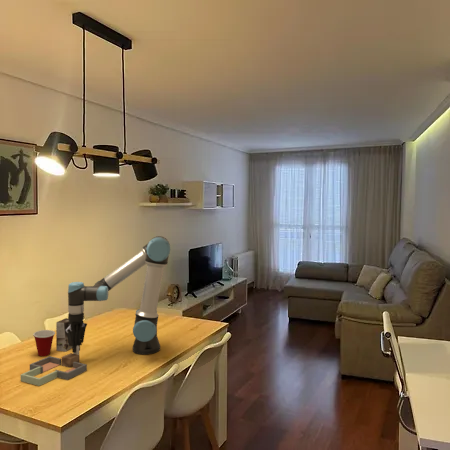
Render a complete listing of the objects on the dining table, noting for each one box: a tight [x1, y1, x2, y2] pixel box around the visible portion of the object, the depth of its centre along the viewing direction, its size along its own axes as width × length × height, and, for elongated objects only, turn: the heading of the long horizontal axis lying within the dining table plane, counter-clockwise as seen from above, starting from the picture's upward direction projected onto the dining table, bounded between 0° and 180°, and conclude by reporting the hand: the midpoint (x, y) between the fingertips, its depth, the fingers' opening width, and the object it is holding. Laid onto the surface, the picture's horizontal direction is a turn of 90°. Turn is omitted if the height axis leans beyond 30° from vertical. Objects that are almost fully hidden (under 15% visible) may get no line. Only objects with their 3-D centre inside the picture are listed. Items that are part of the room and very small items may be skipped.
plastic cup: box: [32, 329, 56, 357], centre depth 214 cm, size 11×11×12 cm
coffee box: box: [55, 317, 72, 352], centre depth 223 cm, size 9×6×16 cm
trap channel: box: [20, 355, 88, 387], centre depth 188 cm, size 25×22×3 cm
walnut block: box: [60, 352, 81, 369], centre depth 200 cm, size 6×6×4 cm
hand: (76, 358), depth 204 cm, fingers closed
